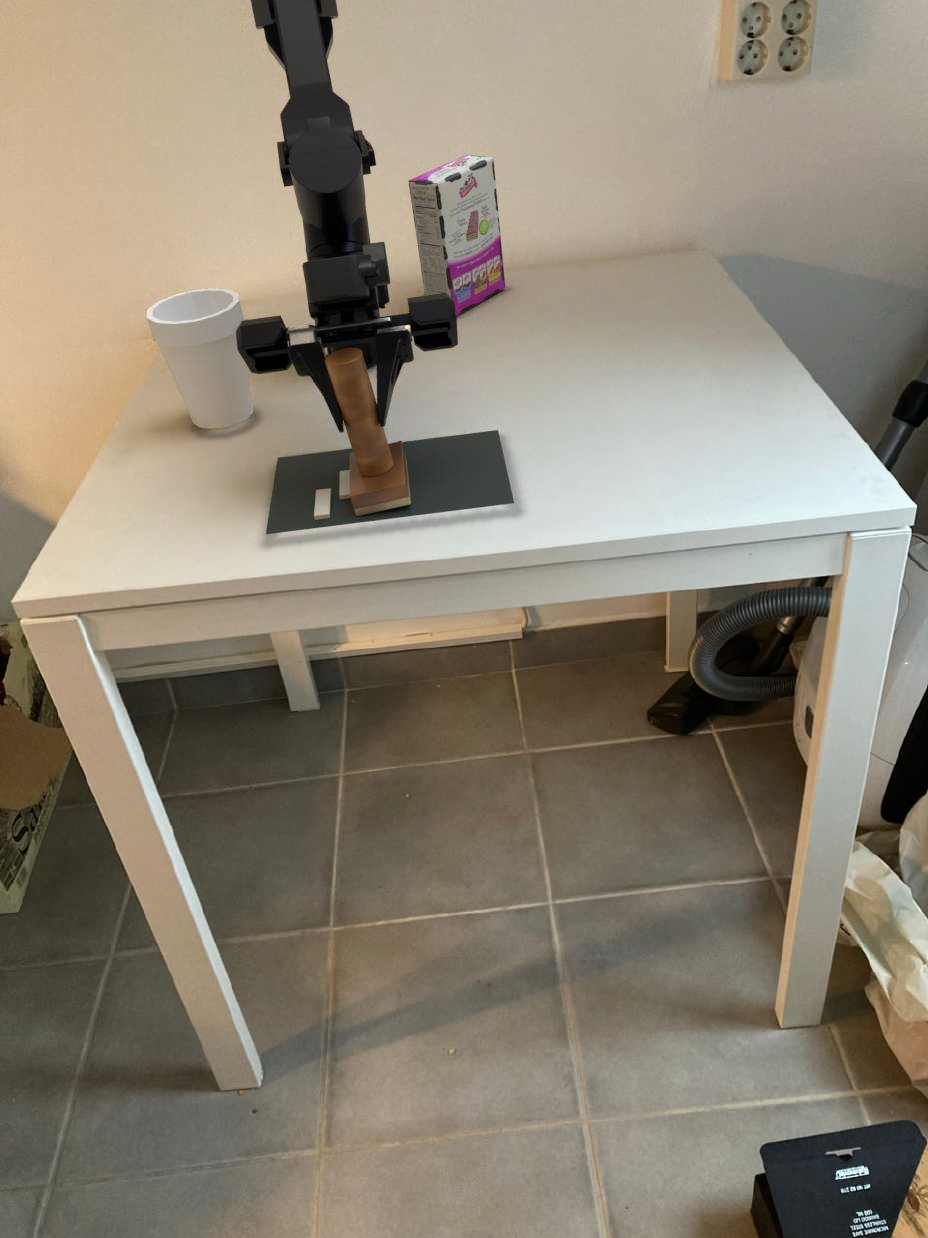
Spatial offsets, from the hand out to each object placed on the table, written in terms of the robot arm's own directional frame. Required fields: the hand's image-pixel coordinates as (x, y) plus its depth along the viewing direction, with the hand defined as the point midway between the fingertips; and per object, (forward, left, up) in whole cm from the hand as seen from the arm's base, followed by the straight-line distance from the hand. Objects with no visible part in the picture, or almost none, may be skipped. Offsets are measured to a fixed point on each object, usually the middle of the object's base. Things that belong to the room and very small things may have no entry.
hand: (361, 428), depth 85 cm
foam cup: (-27, +7, -8) cm, 29 cm away
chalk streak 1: (-4, -3, -7) cm, 9 cm away
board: (-1, +4, -8) cm, 9 cm away
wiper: (0, +2, -7) cm, 7 cm away
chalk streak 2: (-4, +1, -7) cm, 8 cm away
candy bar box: (-22, +46, -8) cm, 51 cm away
